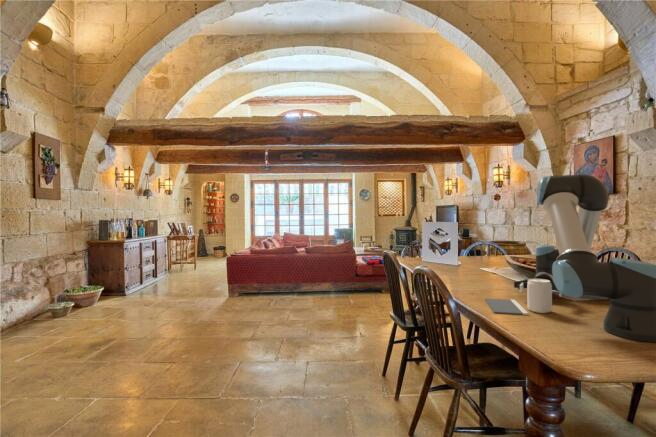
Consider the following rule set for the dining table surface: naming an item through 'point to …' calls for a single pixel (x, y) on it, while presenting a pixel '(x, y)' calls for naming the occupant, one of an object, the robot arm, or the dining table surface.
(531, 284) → the beverage can
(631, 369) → the dining table surface
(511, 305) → the mat
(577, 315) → the dining table surface
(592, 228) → the robot arm
